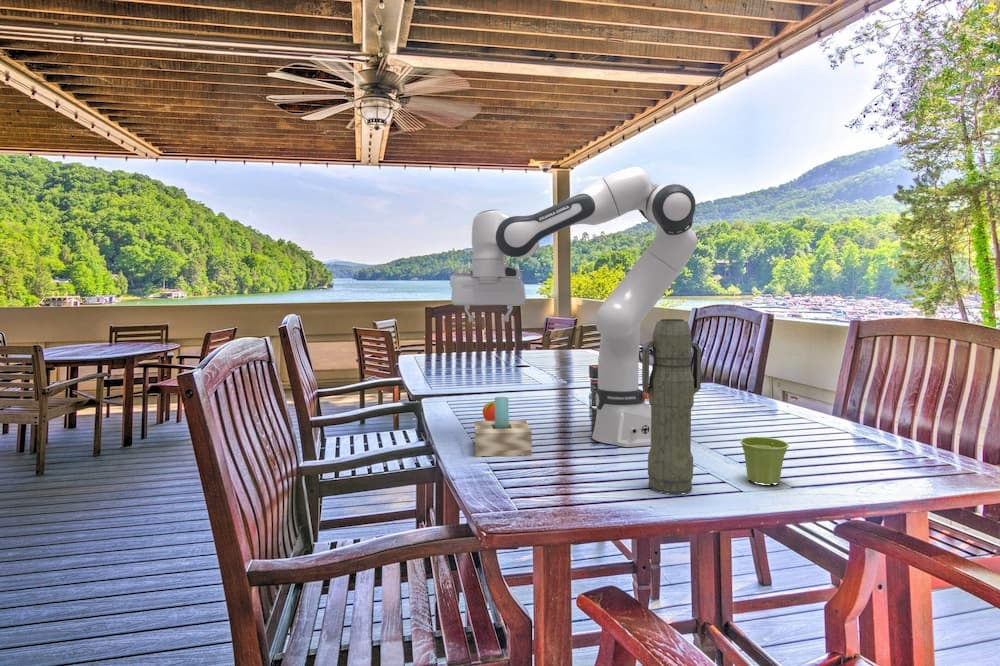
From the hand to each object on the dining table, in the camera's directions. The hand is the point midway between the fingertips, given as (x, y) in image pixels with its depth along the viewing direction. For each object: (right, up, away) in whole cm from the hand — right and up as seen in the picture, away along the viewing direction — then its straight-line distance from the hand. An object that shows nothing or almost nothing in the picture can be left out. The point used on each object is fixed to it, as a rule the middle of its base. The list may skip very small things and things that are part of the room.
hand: (488, 322), depth 154 cm
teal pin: (+4, -32, -6) cm, 33 cm away
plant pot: (+59, -35, -33) cm, 77 cm away
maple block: (+4, -34, -6) cm, 34 cm away
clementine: (+1, -32, +25) cm, 41 cm away
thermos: (+39, -35, -37) cm, 64 cm away
